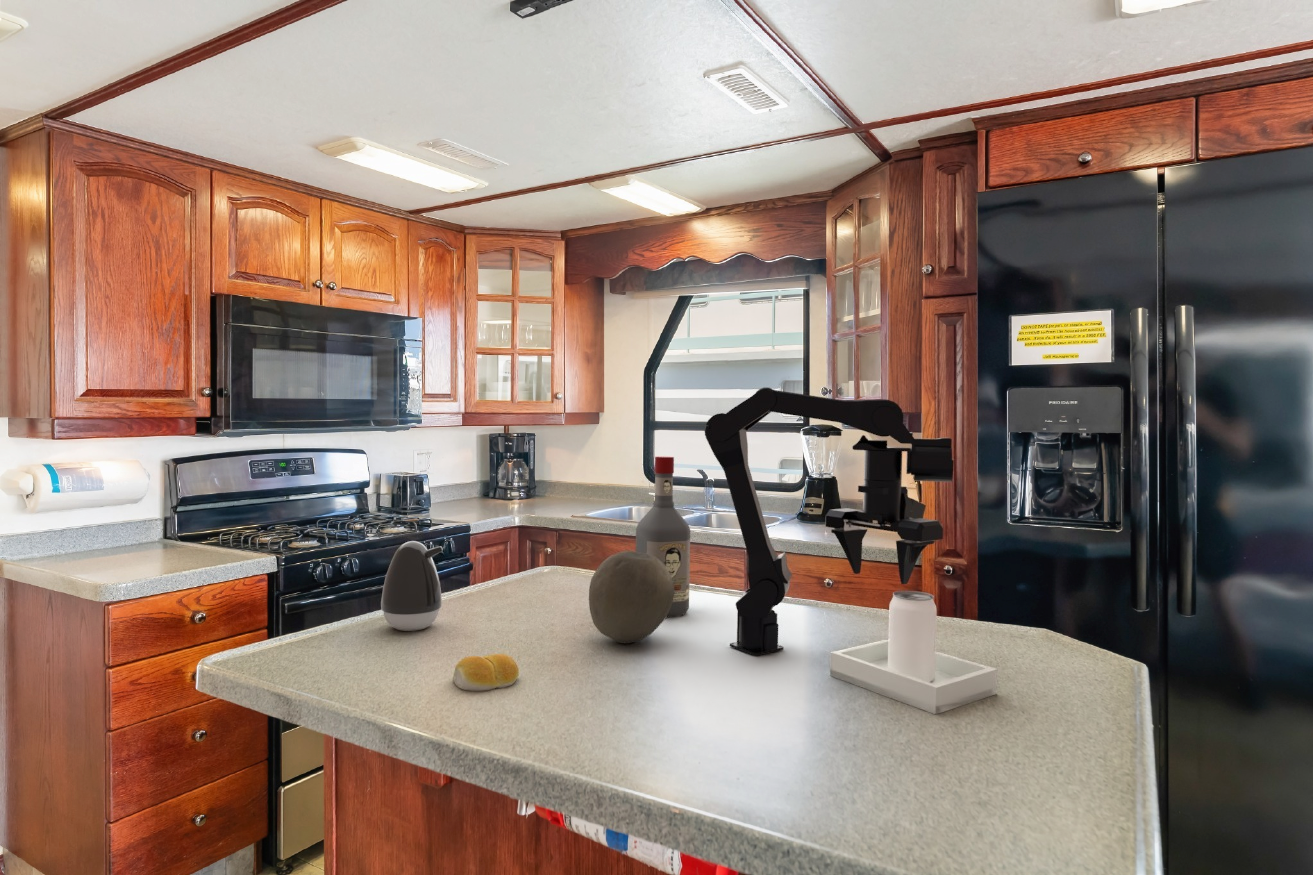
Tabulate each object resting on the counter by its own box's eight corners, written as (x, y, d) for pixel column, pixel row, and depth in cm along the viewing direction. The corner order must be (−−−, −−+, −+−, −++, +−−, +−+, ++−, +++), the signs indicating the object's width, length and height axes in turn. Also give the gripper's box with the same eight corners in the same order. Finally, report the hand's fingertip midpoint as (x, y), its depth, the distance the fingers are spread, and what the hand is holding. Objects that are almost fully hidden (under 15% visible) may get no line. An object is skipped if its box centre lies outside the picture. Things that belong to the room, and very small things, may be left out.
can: (944, 681, 113) (946, 597, 113) (912, 688, 110) (915, 602, 110) (909, 668, 119) (911, 588, 119) (877, 674, 116) (880, 592, 115)
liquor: (630, 608, 157) (633, 455, 156) (672, 604, 160) (675, 455, 160) (649, 619, 148) (652, 458, 147) (693, 615, 152) (696, 458, 151)
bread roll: (527, 685, 112) (528, 657, 112) (466, 696, 107) (466, 667, 107) (504, 668, 119) (504, 642, 119) (445, 678, 114) (446, 651, 114)
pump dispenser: (432, 635, 135) (433, 546, 135) (372, 634, 135) (372, 545, 135) (449, 620, 145) (450, 537, 145) (393, 619, 145) (393, 536, 145)
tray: (830, 675, 118) (830, 652, 118) (890, 660, 126) (891, 638, 126) (935, 714, 103) (936, 687, 103) (996, 693, 111) (997, 669, 111)
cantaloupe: (636, 658, 125) (638, 563, 124) (570, 641, 133) (571, 552, 133) (688, 639, 136) (689, 551, 135) (624, 624, 144) (625, 542, 144)
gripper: (966, 482, 122) (963, 584, 122) (869, 474, 137) (866, 564, 138) (920, 485, 116) (917, 592, 116) (824, 475, 131) (821, 570, 131)
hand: (879, 578), depth 125 cm, fingers open, 9 cm apart
